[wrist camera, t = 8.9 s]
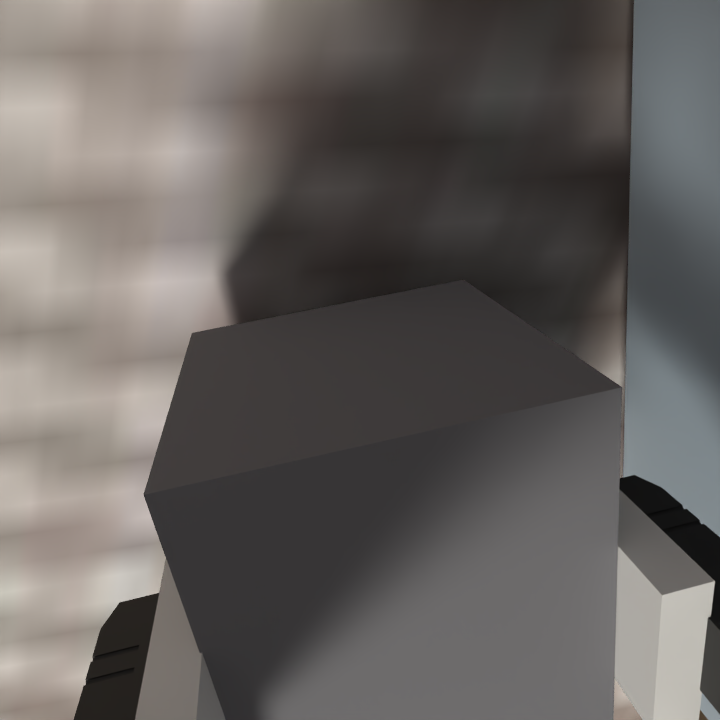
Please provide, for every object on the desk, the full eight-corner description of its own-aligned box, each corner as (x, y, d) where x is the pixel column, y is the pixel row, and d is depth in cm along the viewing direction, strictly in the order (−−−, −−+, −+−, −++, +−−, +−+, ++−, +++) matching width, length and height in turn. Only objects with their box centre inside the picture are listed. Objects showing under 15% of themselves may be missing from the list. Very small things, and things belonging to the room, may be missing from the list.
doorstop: (192, 333, 12) (144, 494, 7) (463, 279, 13) (622, 387, 7) (270, 614, 15) (281, 885, 10) (486, 560, 16) (611, 785, 10)
